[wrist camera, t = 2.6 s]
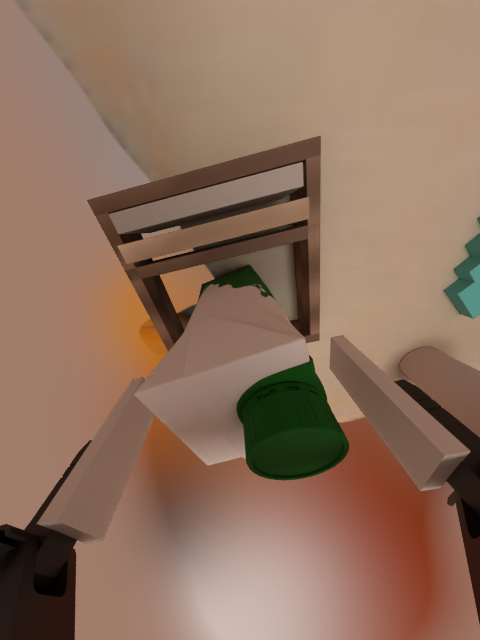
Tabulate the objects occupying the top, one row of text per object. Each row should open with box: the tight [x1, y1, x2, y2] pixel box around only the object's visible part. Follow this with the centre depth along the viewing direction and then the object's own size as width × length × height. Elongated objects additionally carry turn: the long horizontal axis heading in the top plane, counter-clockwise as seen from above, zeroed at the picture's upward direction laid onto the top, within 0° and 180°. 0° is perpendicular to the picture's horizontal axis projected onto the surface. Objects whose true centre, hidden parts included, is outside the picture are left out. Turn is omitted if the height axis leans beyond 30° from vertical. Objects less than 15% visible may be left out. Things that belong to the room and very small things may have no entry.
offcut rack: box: [87, 136, 321, 351], centre depth 21 cm, size 21×20×4 cm
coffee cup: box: [399, 347, 480, 437], centre depth 26 cm, size 10×10×15 cm
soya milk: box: [134, 265, 349, 480], centre depth 16 cm, size 9×9×20 cm
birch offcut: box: [117, 197, 309, 264], centre depth 17 cm, size 2×16×8 cm, turn 103°
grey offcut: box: [109, 162, 304, 234], centre depth 17 cm, size 2×16×6 cm, turn 102°
